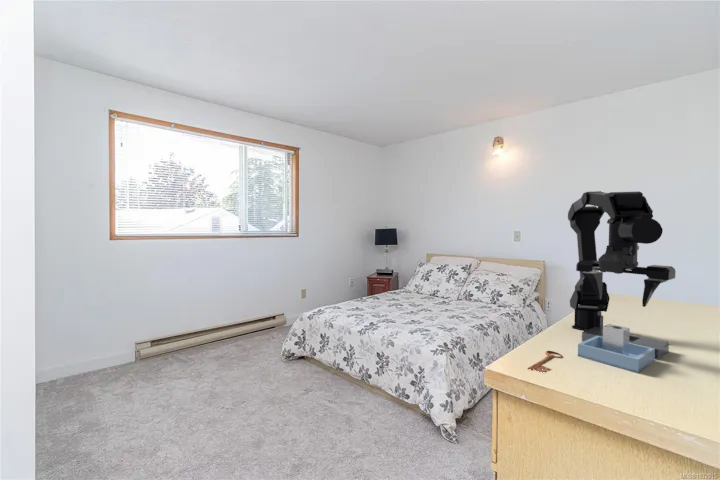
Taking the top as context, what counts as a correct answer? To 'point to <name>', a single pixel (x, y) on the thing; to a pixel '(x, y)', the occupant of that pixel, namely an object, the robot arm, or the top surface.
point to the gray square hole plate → (633, 341)
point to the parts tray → (617, 355)
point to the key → (544, 362)
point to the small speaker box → (616, 339)
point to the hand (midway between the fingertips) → (620, 302)
